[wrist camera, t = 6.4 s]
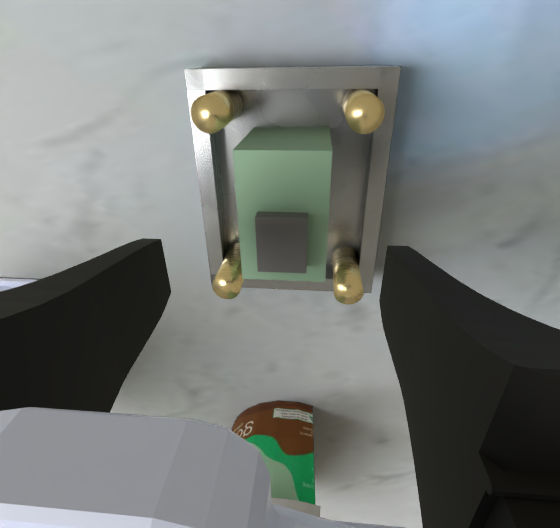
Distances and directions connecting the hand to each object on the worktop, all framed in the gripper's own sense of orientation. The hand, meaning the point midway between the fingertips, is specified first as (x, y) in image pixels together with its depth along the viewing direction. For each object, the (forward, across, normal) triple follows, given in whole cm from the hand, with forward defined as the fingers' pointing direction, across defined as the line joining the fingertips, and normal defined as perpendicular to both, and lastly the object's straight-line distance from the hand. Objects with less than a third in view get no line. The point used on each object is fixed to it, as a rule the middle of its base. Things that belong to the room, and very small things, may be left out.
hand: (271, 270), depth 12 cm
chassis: (+9, 0, 0) cm, 9 cm away
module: (+8, 0, 0) cm, 8 cm away
